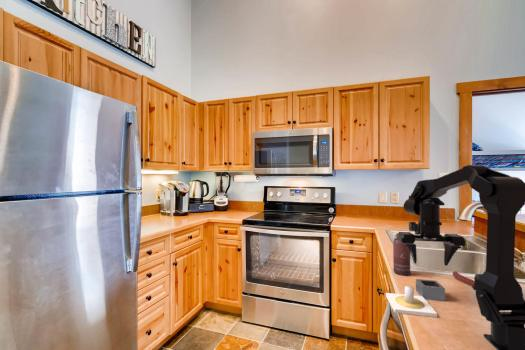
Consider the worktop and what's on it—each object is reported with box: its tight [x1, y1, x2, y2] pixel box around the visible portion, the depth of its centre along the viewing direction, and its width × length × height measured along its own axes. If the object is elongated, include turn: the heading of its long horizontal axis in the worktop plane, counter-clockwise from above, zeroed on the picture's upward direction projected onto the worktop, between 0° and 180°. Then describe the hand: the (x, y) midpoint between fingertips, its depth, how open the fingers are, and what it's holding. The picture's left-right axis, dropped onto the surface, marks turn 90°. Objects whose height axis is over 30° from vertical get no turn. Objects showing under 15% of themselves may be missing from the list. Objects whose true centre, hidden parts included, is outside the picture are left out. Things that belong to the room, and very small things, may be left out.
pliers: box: [452, 270, 475, 290], centre depth 92 cm, size 12×20×3 cm, turn 158°
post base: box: [385, 285, 438, 318], centre depth 79 cm, size 11×11×6 cm
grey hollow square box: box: [415, 278, 446, 302], centre depth 86 cm, size 6×6×4 cm
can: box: [392, 237, 411, 277], centre depth 106 cm, size 6×6×14 cm
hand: (430, 264), depth 86 cm, fingers open, 9 cm apart
